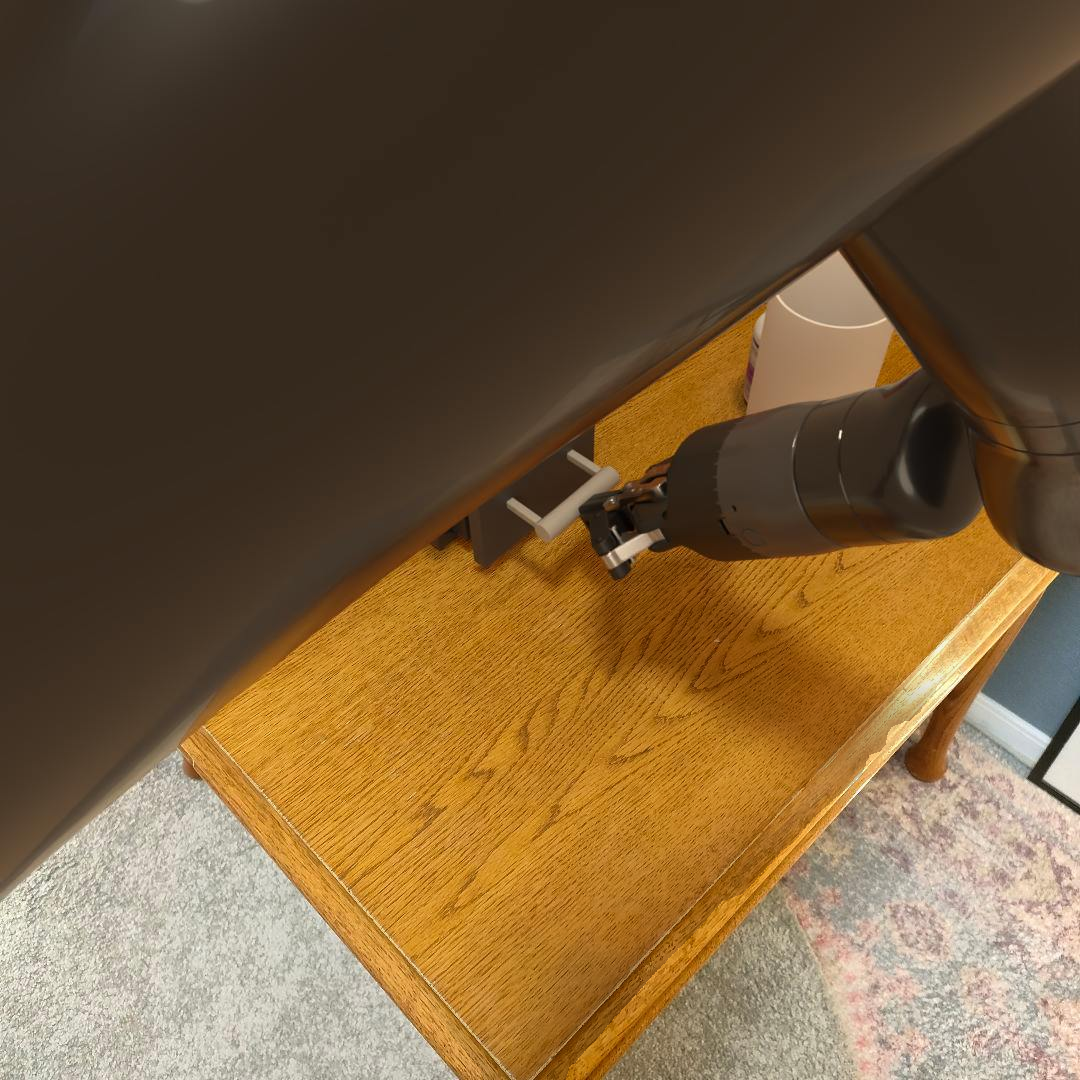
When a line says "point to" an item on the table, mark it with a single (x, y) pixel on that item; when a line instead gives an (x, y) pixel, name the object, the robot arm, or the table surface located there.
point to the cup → (819, 340)
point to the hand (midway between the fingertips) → (591, 515)
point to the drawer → (538, 501)
